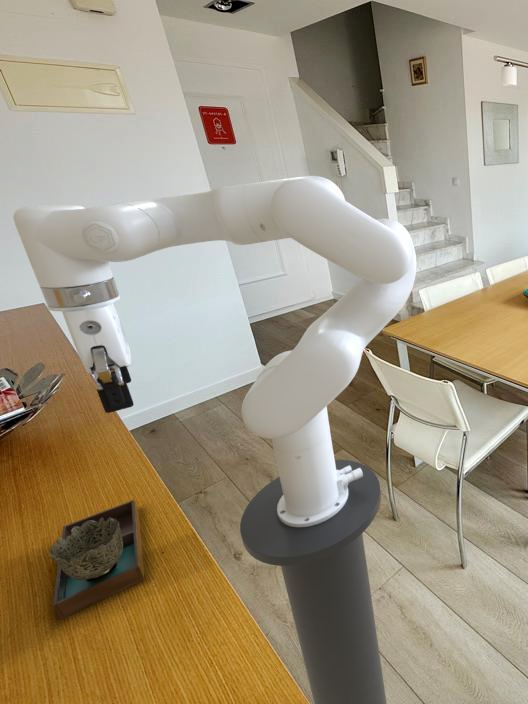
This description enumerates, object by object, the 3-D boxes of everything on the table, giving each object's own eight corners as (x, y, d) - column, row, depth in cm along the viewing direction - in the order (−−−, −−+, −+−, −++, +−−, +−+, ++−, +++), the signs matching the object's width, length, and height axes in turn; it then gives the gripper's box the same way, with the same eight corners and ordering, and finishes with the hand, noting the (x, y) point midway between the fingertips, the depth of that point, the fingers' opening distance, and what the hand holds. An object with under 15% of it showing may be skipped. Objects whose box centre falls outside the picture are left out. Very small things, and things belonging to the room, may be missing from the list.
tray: (139, 512, 77) (134, 499, 76) (144, 580, 65) (138, 566, 64) (69, 539, 71) (62, 526, 70) (60, 620, 59) (52, 605, 58)
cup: (95, 602, 61) (76, 562, 58) (55, 592, 62) (34, 553, 59) (146, 557, 68) (131, 520, 65) (109, 550, 69) (92, 513, 66)
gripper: (118, 303, 56) (154, 410, 62) (116, 277, 68) (146, 369, 74) (37, 314, 52) (84, 430, 58) (50, 285, 63) (88, 383, 69)
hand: (119, 396), depth 66 cm, fingers open, 9 cm apart
